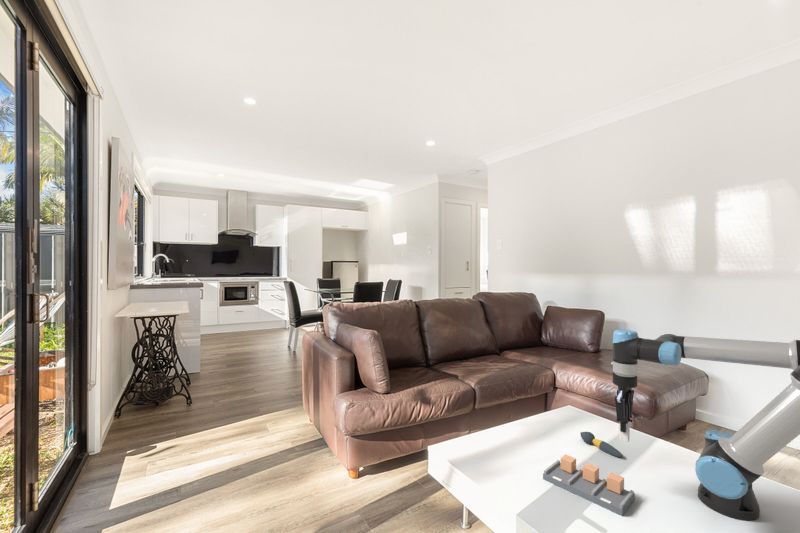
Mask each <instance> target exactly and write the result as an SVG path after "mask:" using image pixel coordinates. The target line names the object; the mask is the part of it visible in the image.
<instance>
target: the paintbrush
mask: <svg viewBox="0 0 800 533" xmlns="http://www.w3.org/2000/svg"><path fill="white" fill-rule="evenodd" d="M580 437H581V440H582V441H583V442H584V443H585V444H586V445H592V444H594V446H595V447H597V448H598V449H599V450H600V451H602V452H604V453H606V454H609V455H611V456H613V457H616V458H621V459H622V458H624V455H623V454H622V453H621V451H619V450H618V449H617V448H616V447H614V446H613V445H611V444H609V443H607V442H606V441H604V440H600V439H597V438H596V437H595V435H594V434H593V433H592V432H591V431H580Z"/></svg>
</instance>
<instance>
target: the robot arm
mask: <svg viewBox="0 0 800 533" xmlns="http://www.w3.org/2000/svg"><path fill="white" fill-rule="evenodd" d="M612 335H613V336H612V361H611V362H610V365H612V371H613V373H612V383H613V385H615V386H617V389H616V395H617V396H614V401H615V411H616V413H615V414H616V421H617V422H619V423H618V424H619V426H618V429H619V430H618V431H619V439H618V440H620V441H623V442H626V443H628V442H630V423H633V419H632V418H633V408H634V406H633V405H634V396H635V390H633V389H634V388H637V386H638V376H637V375H639V374H638V373H639V372H638V365H639V364H638V363H639V362H638V360H639V361H643V362H649V363H656V364H661V365H665V366H675V367H676V366H677V367H678V366H679V365H680V364H681V360H682V359H691V360H692V359H693V360H699V361H701V360H702V361H710V362H711V361H712V362H721V363H729V364H740V365H741V364H742V365H752V366H762V367H771V368H779V369H781V368H782V369H791V370H793V371H792V372H791V373H790V374H789V376H790V379H791V383H789V385H788V386H786V387H785V388H784V389H783V390H782V391H781V392H779V394H777V395H776V396H775V397H773V399H771V401H770V402H769V403H767V404H766V405H765V406H764V407H763V408H762V409H761V410H760V411H759V412H758V413H756V414H755V415H754V416H752V418H750V420H748V421H747V422H746V423H745V424H744V425H743V426H742V427H741V428H739V429H738V430H737V431H736V432H735V433H731V432H729V431H728V432H726V431H723V430H719V429H718V430H716V429H709V430H706V431H705V434H704V447H703V449H702V451H701V453H700V456H699V457H698V459H697V460H696V462H695V466H694V468H695V469H694V470H695V474H696V477H697V479H698V481H699V484H698V487H697V497H698V499H699V500H700V501H701V502H702V503H703V504H704V505H705V506H706V507H707V508H709V509H711V510H713V511H715V512H718V513H719V514H721V515H723V516H727V517H730V518H733V519H737V520H742V521H754V520H757V519H759V518H761V516H760V515H761V513H760V512H761V508H760V504H759V502H758V499H757V496H756V494H755V491H754V489H753V483H754V482H756V481H757V480H758V479H759V478H760V477H762V476H763V475H764V474H765V470H764V464H765V463H767V462H768V461H769V460H770V459H772V458H773V457H774V456H775V455H776V454H778V453H779V452H780V451H781V450H782V449H784V448H785V447H787V445H789V444H790V443H791V442H793V440H795V439H796V438H797V437H798V436H800V339H793V340H791V341H790V342H782V341H781V342H780V341H779V342H778V341H764V340H749V339H732V338H715V337H701V336H700V337H698V336H683V335H676V334H674V333H665V334H660V336H658V337H657V338H655V339H651V338H643V337H639V334H638V332H637V331H636V330H631V329H615V330H614V331H613V333H612Z"/></svg>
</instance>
